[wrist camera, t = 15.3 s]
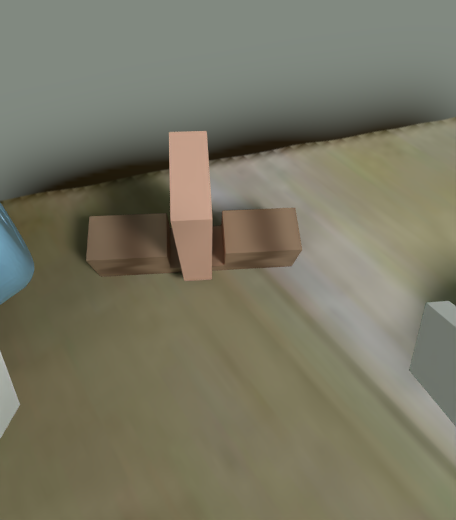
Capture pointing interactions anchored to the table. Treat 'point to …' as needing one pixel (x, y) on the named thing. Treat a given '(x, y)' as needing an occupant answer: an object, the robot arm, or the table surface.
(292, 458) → the table surface
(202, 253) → the tall pink slab box
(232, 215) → the walnut crossbar
